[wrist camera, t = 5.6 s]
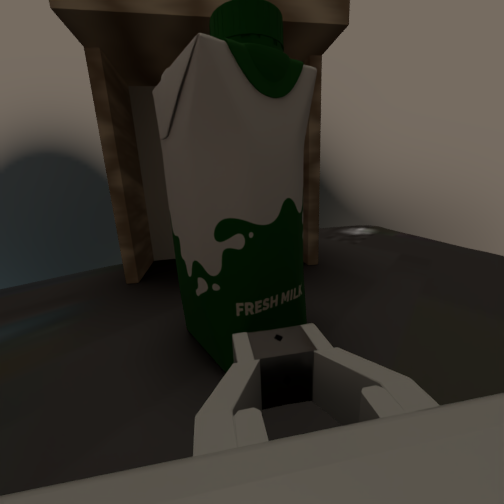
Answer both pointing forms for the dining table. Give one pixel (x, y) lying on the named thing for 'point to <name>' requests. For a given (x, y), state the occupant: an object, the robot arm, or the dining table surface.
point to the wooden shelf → (143, 108)
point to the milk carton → (236, 175)
